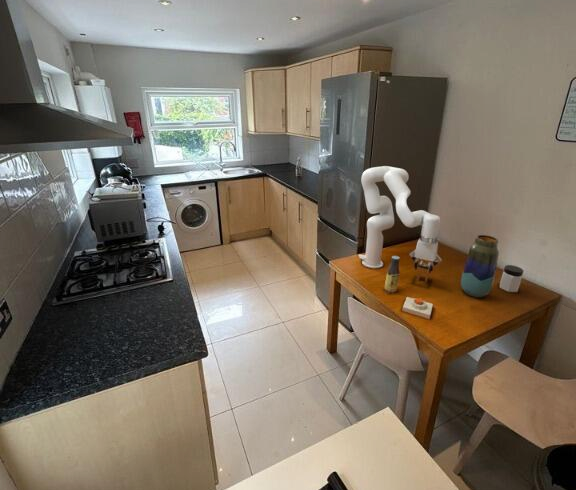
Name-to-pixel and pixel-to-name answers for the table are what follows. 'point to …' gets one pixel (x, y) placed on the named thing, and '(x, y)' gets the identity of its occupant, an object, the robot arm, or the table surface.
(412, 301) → the block
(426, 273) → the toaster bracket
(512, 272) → the jar
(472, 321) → the table surface
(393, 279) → the sauce bottle
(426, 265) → the toaster lever
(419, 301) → the button
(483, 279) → the vase
